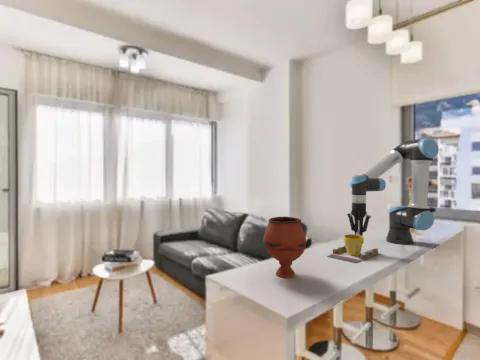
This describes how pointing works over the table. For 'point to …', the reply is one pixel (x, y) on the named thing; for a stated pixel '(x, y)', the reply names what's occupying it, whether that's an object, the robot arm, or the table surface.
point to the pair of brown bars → (362, 256)
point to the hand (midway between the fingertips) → (358, 243)
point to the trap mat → (344, 258)
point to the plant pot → (353, 244)
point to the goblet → (285, 242)
